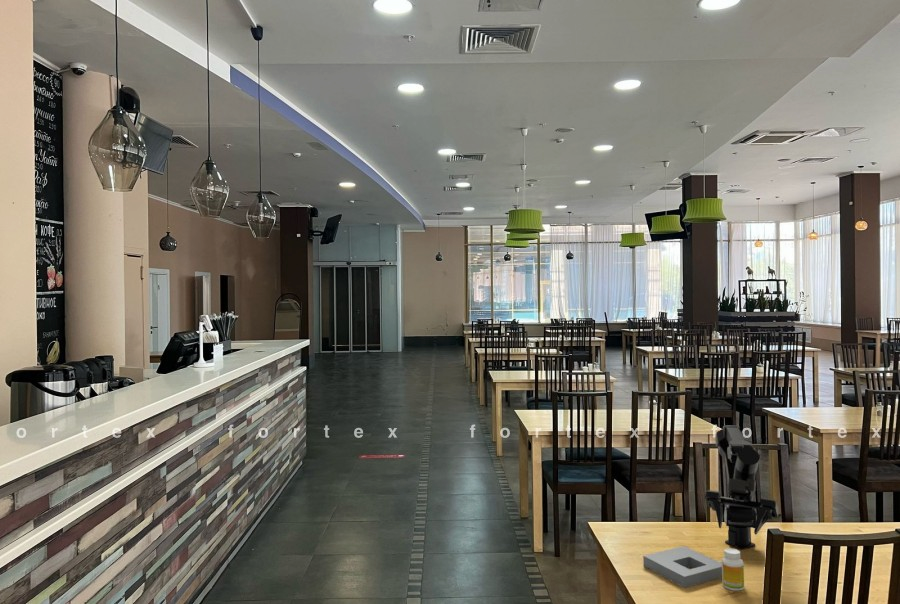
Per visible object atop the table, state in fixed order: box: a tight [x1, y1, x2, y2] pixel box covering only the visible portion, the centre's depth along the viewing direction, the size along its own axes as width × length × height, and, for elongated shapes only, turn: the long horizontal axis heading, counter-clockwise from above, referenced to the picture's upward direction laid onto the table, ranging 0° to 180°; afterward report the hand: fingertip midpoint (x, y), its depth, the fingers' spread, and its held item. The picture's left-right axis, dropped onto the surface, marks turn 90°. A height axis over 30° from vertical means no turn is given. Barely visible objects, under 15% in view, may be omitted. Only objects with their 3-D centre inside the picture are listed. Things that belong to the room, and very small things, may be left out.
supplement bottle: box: [721, 547, 745, 592], centre depth 166 cm, size 5×5×10 cm
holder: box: [642, 545, 722, 589], centre depth 177 cm, size 16×16×3 cm
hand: (737, 530), depth 172 cm, fingers open, 9 cm apart
